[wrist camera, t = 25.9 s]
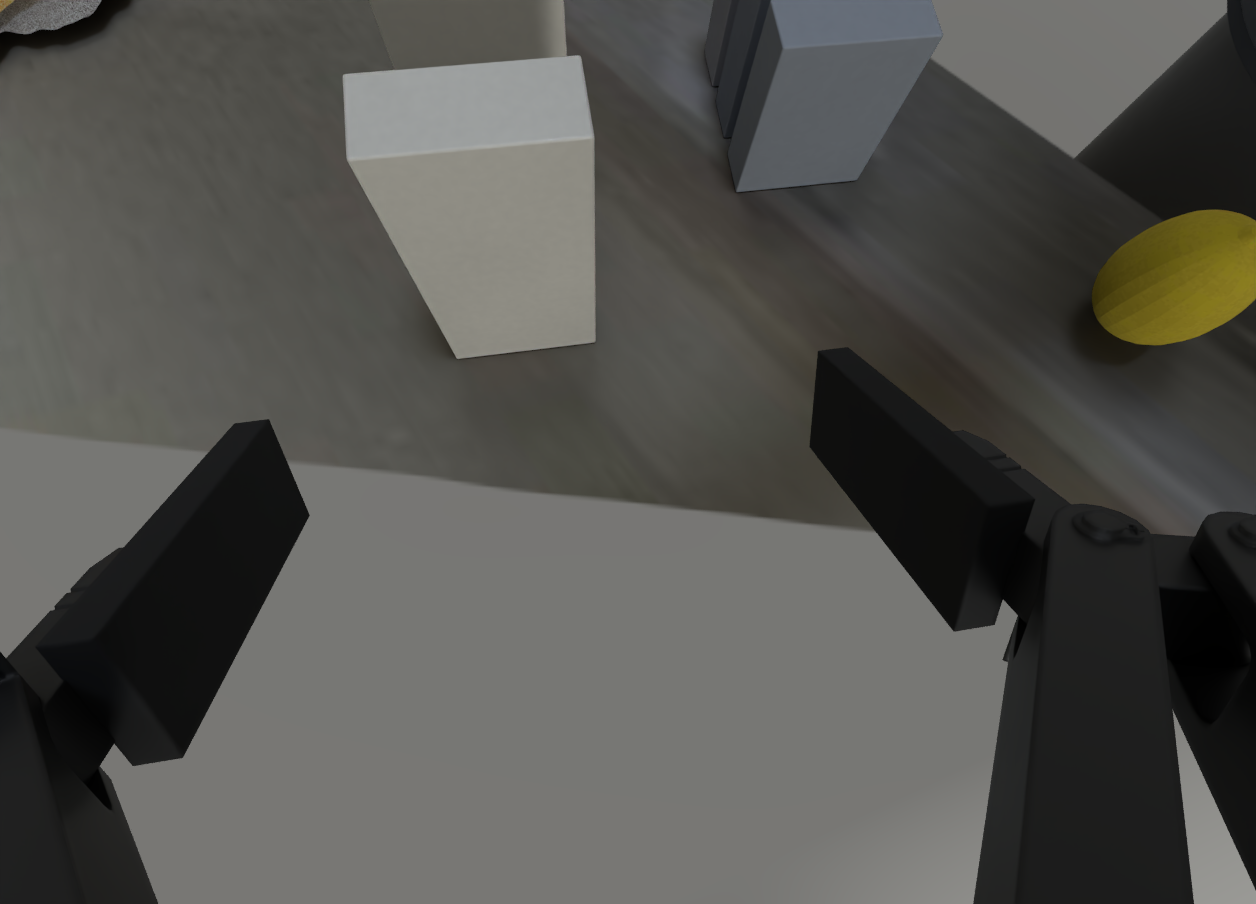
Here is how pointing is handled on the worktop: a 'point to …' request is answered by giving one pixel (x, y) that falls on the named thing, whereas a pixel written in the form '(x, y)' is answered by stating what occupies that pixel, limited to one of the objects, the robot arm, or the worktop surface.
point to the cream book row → (469, 31)
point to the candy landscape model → (42, 14)
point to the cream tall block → (485, 195)
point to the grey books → (812, 83)
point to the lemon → (1178, 278)
